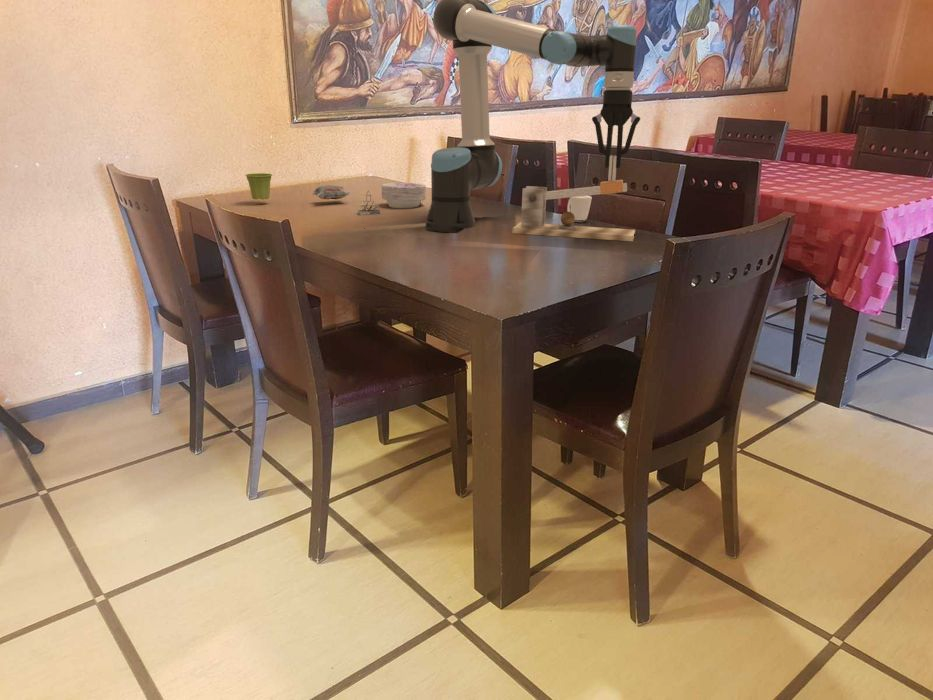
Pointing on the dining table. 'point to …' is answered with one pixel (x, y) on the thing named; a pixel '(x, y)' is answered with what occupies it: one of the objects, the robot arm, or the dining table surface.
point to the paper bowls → (403, 194)
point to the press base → (579, 232)
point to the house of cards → (369, 211)
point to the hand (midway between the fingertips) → (611, 179)
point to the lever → (588, 190)
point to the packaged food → (330, 192)
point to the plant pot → (259, 185)
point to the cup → (579, 206)
